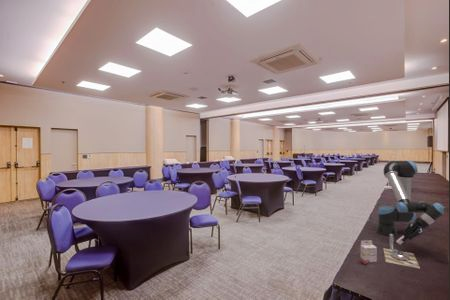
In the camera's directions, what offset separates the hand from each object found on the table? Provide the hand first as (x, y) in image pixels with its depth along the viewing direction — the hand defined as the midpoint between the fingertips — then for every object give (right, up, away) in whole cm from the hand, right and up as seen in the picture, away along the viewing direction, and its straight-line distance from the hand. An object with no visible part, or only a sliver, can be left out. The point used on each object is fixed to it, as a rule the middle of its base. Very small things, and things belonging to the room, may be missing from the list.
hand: (398, 243), depth 167 cm
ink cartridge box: (-26, -10, -8) cm, 29 cm away
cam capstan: (-3, -8, -6) cm, 10 cm away
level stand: (-3, -9, -6) cm, 11 cm away
